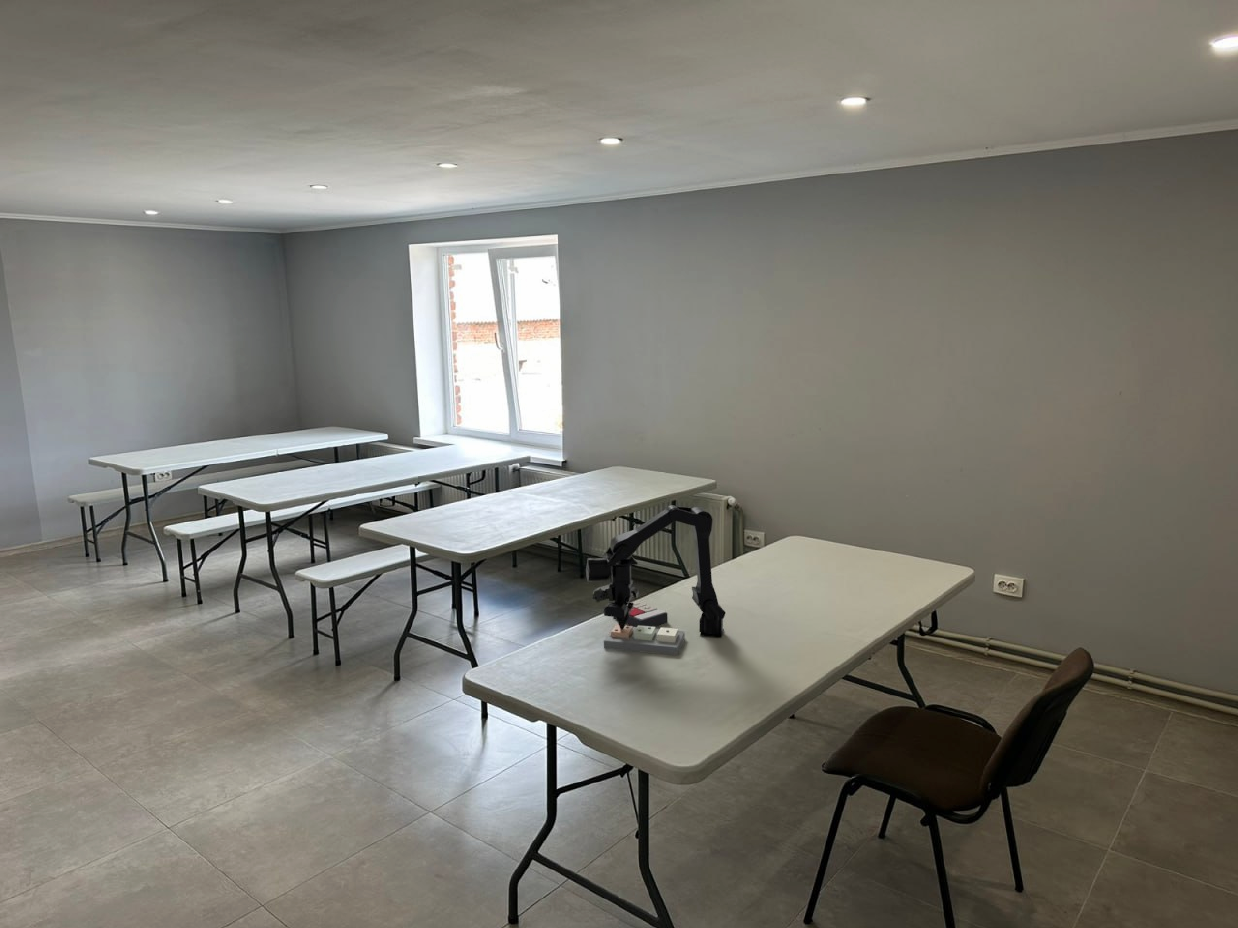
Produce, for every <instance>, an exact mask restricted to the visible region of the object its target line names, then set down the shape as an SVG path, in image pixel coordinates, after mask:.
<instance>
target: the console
mask: <svg viewBox="0 0 1238 928" xmlns="http://www.w3.org/2000/svg"><path fill="white" fill-rule="evenodd" d="M615 625H616V624H614V625H613V626H612V628H611V629H610V630H609V632H608V633H607V635H606V637H605V638H604V640H603V648H604V649H609V650H617V651H618V650H621V651H630V652H641V653H650V654H662V655H670V656H671V655H672V656H678V655H679V652H680V650H681V647H682V645H683V644H684V641H685V631H684V630H678V639H677V641H676V643H671V642H660V641H657V633H658V631H659V629H660V628H655V637H654V638H653V640H652V641H649V640H639V639H634V631H635V629H636V628H637V627H633V633H632V635H631V637H630V638H629V639H628V638H617V637H611V631H612V629H613V628H614V626H615Z"/></svg>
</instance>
